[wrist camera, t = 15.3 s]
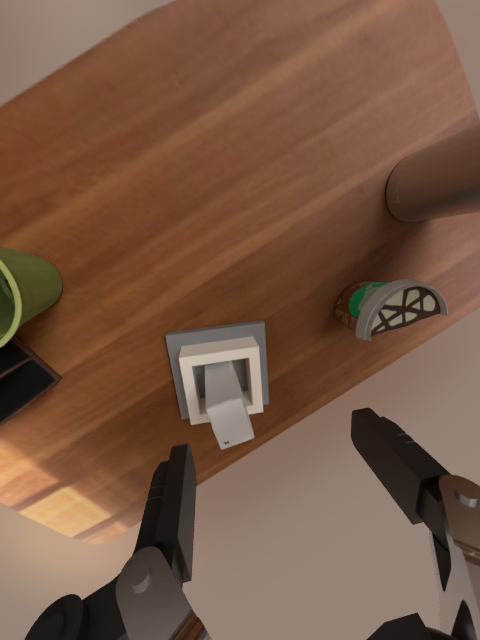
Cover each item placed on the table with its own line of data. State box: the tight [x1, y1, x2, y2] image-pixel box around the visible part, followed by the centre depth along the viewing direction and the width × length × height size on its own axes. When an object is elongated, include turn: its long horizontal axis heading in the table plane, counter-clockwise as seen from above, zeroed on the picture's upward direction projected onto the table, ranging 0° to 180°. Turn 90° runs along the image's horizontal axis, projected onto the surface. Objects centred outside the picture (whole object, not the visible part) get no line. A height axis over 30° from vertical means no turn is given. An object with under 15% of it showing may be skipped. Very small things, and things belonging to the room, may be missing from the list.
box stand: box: [165, 320, 269, 425], centre depth 35 cm, size 15×15×6 cm
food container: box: [334, 279, 448, 341], centre depth 33 cm, size 12×6×10 cm, turn 106°
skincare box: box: [204, 360, 254, 450], centre depth 31 cm, size 6×4×12 cm
